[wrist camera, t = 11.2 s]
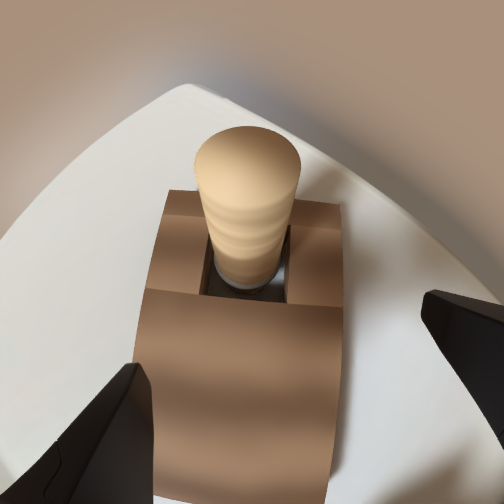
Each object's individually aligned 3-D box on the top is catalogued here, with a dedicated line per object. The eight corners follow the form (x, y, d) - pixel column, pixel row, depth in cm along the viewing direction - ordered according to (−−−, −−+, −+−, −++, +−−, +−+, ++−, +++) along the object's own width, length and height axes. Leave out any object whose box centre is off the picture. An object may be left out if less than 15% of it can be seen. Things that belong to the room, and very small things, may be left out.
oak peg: (256, 312, 21) (267, 231, 9) (207, 281, 22) (166, 175, 10) (286, 265, 22) (322, 151, 11) (239, 238, 23) (233, 112, 12)
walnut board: (313, 494, 15) (322, 509, 12) (138, 473, 15) (123, 485, 12) (330, 224, 24) (339, 204, 21) (177, 210, 24) (169, 189, 21)
